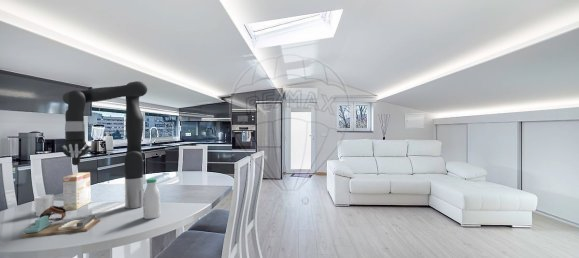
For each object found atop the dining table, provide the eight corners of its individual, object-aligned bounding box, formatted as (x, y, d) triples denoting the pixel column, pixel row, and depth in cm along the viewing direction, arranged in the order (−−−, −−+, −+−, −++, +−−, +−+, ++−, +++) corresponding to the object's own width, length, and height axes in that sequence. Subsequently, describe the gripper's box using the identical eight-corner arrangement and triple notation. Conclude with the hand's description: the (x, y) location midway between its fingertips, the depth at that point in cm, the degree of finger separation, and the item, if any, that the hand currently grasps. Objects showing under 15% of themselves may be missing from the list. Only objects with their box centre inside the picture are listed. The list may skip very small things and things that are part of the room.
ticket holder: (100, 221, 126) (99, 213, 126) (87, 231, 114) (87, 222, 114) (41, 226, 120) (41, 218, 120) (20, 238, 107) (20, 229, 107)
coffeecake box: (78, 203, 159) (78, 172, 159) (91, 202, 161) (91, 172, 161) (62, 210, 145) (62, 176, 145) (76, 209, 146) (76, 176, 146)
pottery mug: (44, 219, 132) (55, 204, 134) (62, 226, 133) (72, 211, 135) (27, 221, 120) (39, 204, 123) (47, 229, 121) (59, 212, 124)
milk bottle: (163, 215, 134) (163, 177, 134) (151, 220, 127) (150, 180, 127) (152, 213, 136) (152, 177, 137) (140, 218, 129) (139, 180, 129)
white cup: (41, 217, 134) (41, 198, 134) (30, 216, 135) (30, 197, 135) (58, 212, 141) (57, 194, 142) (47, 211, 143) (46, 194, 143)
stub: (51, 224, 119) (50, 214, 119) (38, 231, 111) (37, 221, 111) (38, 225, 118) (37, 215, 118) (23, 233, 109) (23, 222, 109)
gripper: (94, 130, 131) (95, 163, 131) (63, 130, 127) (64, 164, 127) (87, 130, 124) (88, 165, 124) (54, 131, 120) (55, 167, 120)
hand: (76, 165), depth 126 cm, fingers closed
